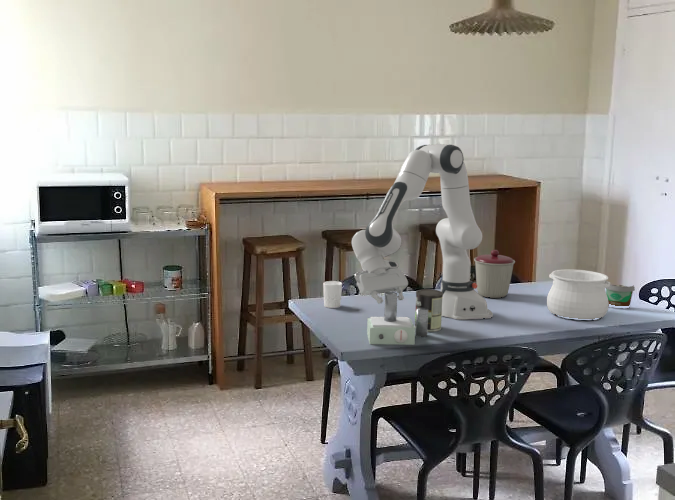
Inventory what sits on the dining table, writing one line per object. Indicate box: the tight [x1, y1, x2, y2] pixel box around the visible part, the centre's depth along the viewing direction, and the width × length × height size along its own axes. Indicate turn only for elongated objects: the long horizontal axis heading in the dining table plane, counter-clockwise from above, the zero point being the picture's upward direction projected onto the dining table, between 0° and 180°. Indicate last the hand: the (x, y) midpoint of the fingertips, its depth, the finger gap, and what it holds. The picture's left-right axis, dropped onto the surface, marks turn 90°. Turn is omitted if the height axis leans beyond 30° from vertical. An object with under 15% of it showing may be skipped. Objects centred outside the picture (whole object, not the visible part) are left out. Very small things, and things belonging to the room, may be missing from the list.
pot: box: [546, 269, 611, 319], centre depth 321 cm, size 26×24×17 cm
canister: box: [473, 249, 516, 299], centre depth 350 cm, size 18×18×21 cm
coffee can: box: [414, 288, 443, 333], centre depth 298 cm, size 10×10×14 cm
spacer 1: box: [383, 291, 398, 322], centre depth 282 cm, size 4×4×10 cm
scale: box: [366, 316, 416, 346], centre depth 282 cm, size 16×14×7 cm
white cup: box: [322, 280, 343, 309], centre depth 327 cm, size 8×8×10 cm
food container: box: [605, 284, 636, 306], centre depth 334 cm, size 12×6×10 cm, turn 68°
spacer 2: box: [415, 308, 428, 338], centre depth 288 cm, size 4×4×10 cm
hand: (391, 301), depth 282 cm, fingers open, 8 cm apart
